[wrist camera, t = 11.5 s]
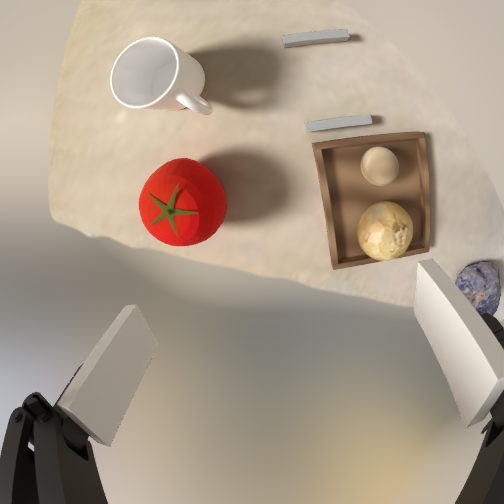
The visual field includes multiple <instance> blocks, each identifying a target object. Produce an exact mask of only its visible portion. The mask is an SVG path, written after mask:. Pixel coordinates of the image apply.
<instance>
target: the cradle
mask: <svg viewBox="0 0 504 504" xmlns="http://www.w3.org/2000/svg"><path fill="white" fill-rule="evenodd" d="M349 37H350V36H349V33H348V30H347V29H339V30H325V31H314V32H305V33H297V34H290V35H284V36H282V42H283V45H284V48H288V47H294V46H301V45H309V44H317V43H328V42H341V41H347V40H348V39H349ZM304 124H305V128H306V132H311V131H318V130H324V129H331V128H339V127H346V126H355V125H364V124H372V119H371V115H360V116H351V117H342V118H334V119H327V120H320V121H313V122H307V123H304Z"/></svg>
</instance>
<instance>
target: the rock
mask: <svg viewBox="0 0 504 504" xmlns="http://www.w3.org/2000/svg"><path fill="white" fill-rule="evenodd" d="M455 284H456V286H457V287H458V288H459V289H460V291H461V292H462V293H463V294H464V295H465V297H466V298H467V299H468V300H469V302H470V303H471V304H472V306H473V307H474V308H475V309H476V311H477V312H478V313H479V315H480V314H483V313H486V312H487V313H489V314H490V315H492V316H493V314H494V313H495V312H496V311H497V308H498V305H499V301H500V297H501V291H500V288H501V287H500V276H499V269H498V268H497V267H496V266H495V265H494V264H492V263H487V262H478V263H477V264H474V265H469V266H467V267H465V269H464V270H463V272H462V273H461V274H460V275H459V276H458V278H457V281H456V283H455Z"/></svg>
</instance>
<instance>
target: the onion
mask: <svg viewBox="0 0 504 504" xmlns="http://www.w3.org/2000/svg"><path fill="white" fill-rule="evenodd" d="M357 235H358V241H359V244H360V246H361V248H362V250H363V251H364V252H365V253H366V254H367V255H368V256H370V257H371V258H374V259H377V260H381V261H387V260H392V259H395V258H397V257H399V256H400V255H402V254H403V253H404V252H405V251H406V249H407V248H408V246H409V244H410V242H411V240H412V236H413V223H412V220H411V218H410V216H409V215H408V213H407V212H406V210H405V209H404V208H402V207H401V206H400V205H398V204H396V203H394V202H388V201H382V202H378V203H376V204H373V205H371V206H370V207H369V208H368V209H367V210H366V211H365V212H364V213H363V215H362V216H361V219H360V221H359V225H358V230H357Z"/></svg>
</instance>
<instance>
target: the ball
mask: <svg viewBox="0 0 504 504" xmlns="http://www.w3.org/2000/svg"><path fill="white" fill-rule="evenodd" d="M361 171H362V173H363V176H364V177H365V178H366V180H368V181H369V182H370V183H372V184H374V185H376V186H386V185H389V184H391V183H392V182H393V181H394V180H395V179H396V177H397V175H398V172H399V163H398V160H397V158H396V156H395V155H394V154H393V153H392V152H391V151H390V150H389V149H387V148H384V147H373V148H370V149H369V150H367V151H366V152H365V153H364V155H363V157H362V159H361Z"/></svg>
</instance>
